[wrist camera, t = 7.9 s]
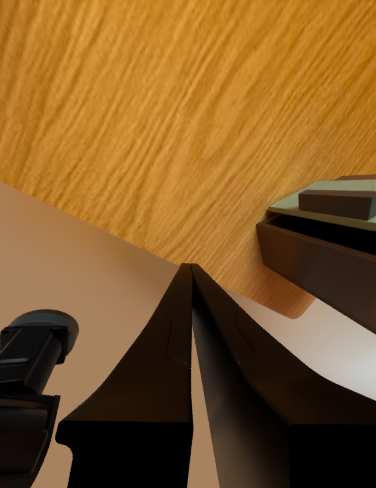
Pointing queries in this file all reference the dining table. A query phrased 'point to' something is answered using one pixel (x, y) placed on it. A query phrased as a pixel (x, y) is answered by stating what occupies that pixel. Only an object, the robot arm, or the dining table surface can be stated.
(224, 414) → the robot arm
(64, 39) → the dining table surface
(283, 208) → the sliding door
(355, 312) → the cupboard
